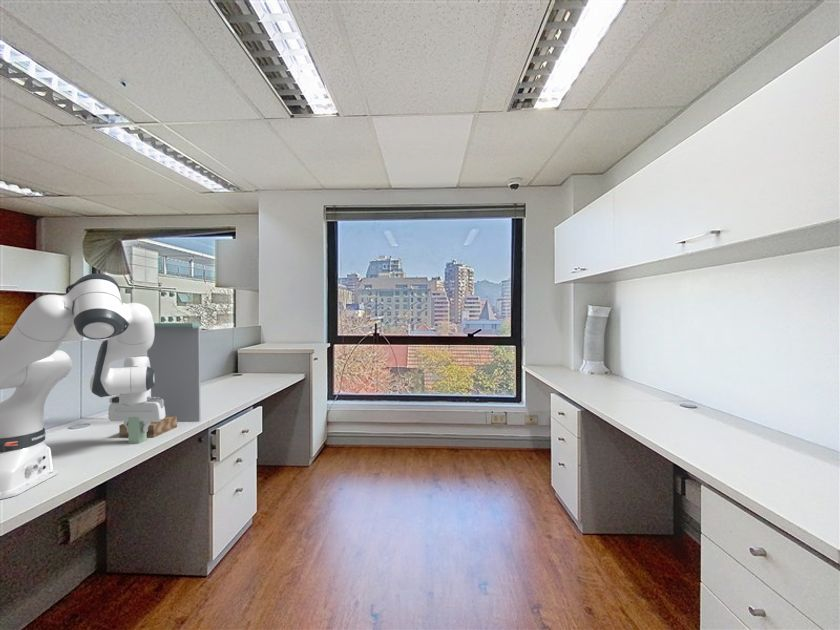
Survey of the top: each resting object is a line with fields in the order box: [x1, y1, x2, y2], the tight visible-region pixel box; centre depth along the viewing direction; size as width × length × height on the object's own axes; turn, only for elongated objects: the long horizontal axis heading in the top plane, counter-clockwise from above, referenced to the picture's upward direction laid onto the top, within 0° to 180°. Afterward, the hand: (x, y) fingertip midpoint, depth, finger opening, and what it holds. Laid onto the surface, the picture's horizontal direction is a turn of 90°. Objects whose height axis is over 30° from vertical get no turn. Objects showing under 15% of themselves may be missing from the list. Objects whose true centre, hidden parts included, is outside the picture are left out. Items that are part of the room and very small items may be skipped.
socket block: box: [118, 416, 178, 439], centre depth 158 cm, size 14×14×5 cm
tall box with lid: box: [146, 322, 202, 423], centre depth 171 cm, size 6×24×46 cm, turn 89°
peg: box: [128, 417, 147, 444], centre depth 146 cm, size 4×4×10 cm
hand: (137, 432), depth 146 cm, fingers closed on peg, 4 cm apart
